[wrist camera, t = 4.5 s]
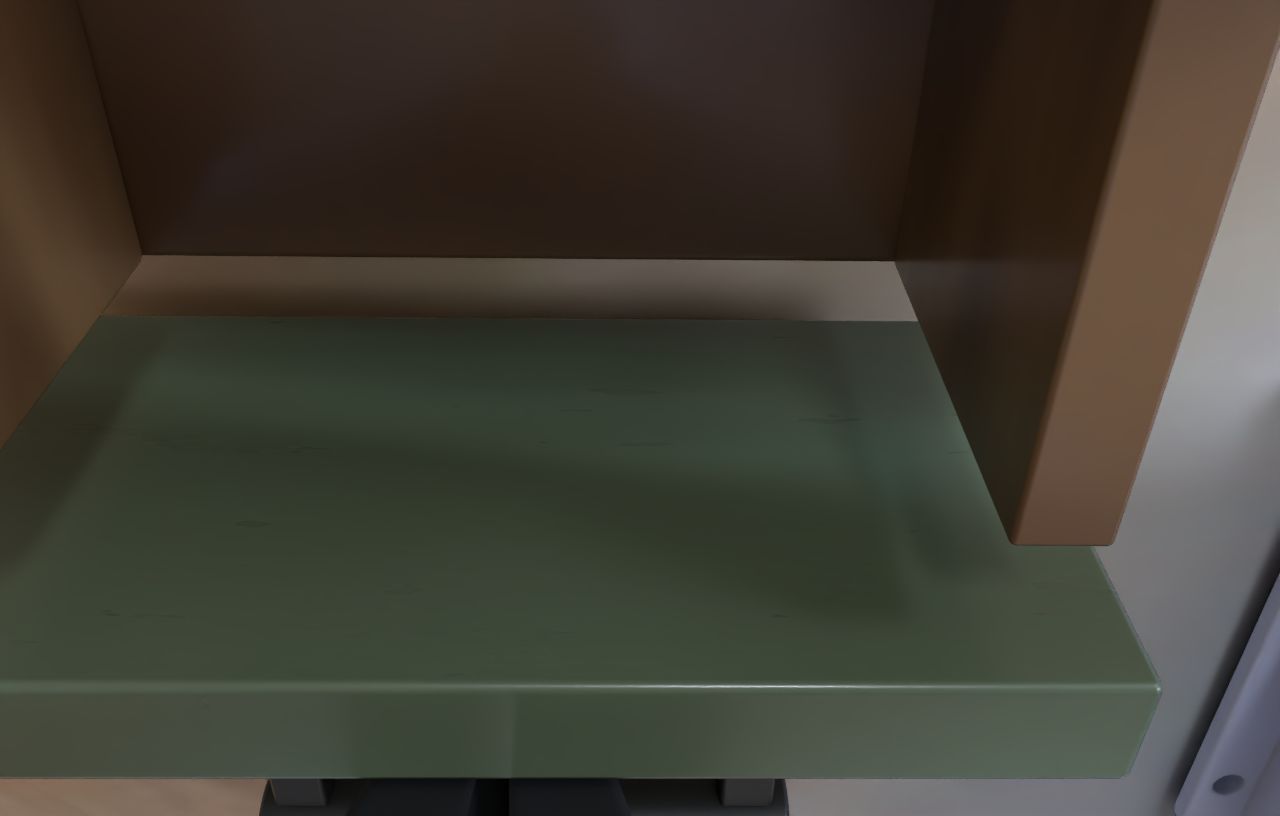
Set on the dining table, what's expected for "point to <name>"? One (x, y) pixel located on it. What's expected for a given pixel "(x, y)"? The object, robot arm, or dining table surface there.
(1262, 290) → the dining table surface
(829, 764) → the drawer
